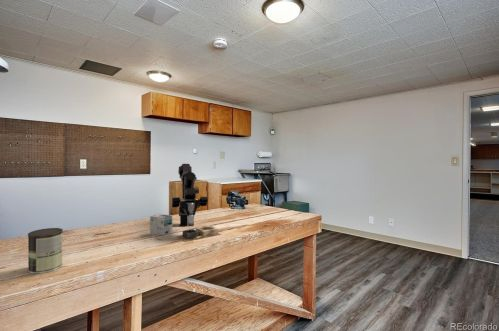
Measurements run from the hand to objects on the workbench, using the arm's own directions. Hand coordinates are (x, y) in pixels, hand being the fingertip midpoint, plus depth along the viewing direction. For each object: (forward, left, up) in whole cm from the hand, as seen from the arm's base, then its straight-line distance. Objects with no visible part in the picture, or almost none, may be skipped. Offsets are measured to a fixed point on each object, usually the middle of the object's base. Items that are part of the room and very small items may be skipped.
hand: (191, 215), depth 133 cm
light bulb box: (-18, +11, -13) cm, 25 cm away
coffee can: (-50, -32, -13) cm, 61 cm away
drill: (0, +1, -6) cm, 6 cm away
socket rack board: (+4, +4, -13) cm, 14 cm away
